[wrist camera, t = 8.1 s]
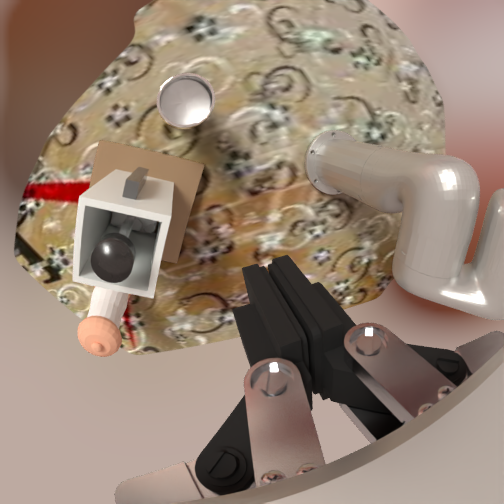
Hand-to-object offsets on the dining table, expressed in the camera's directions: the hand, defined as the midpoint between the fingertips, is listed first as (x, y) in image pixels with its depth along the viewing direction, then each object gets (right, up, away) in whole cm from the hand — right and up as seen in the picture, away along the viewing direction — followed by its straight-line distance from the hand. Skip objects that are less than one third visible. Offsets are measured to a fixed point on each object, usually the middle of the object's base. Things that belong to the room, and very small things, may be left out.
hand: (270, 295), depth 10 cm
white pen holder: (-20, +10, +34) cm, 41 cm away
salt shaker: (-27, -4, +39) cm, 48 cm away
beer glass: (-12, +25, +30) cm, 40 cm away
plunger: (-19, +9, +32) cm, 38 cm away
